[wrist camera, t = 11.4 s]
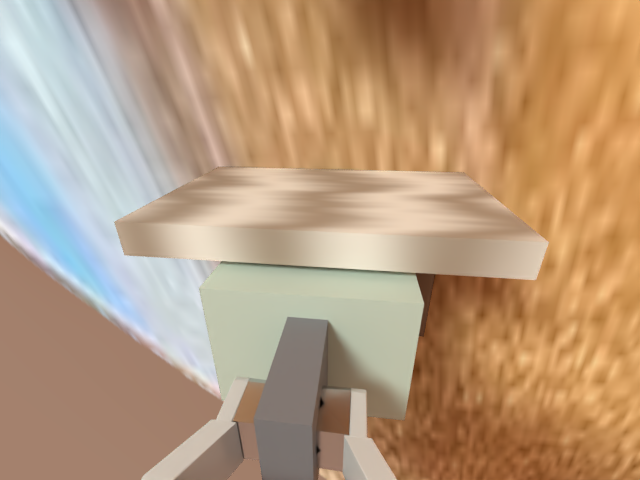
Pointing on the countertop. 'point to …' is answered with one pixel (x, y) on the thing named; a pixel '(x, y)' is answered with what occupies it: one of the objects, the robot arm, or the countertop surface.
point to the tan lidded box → (339, 224)
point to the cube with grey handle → (311, 347)
